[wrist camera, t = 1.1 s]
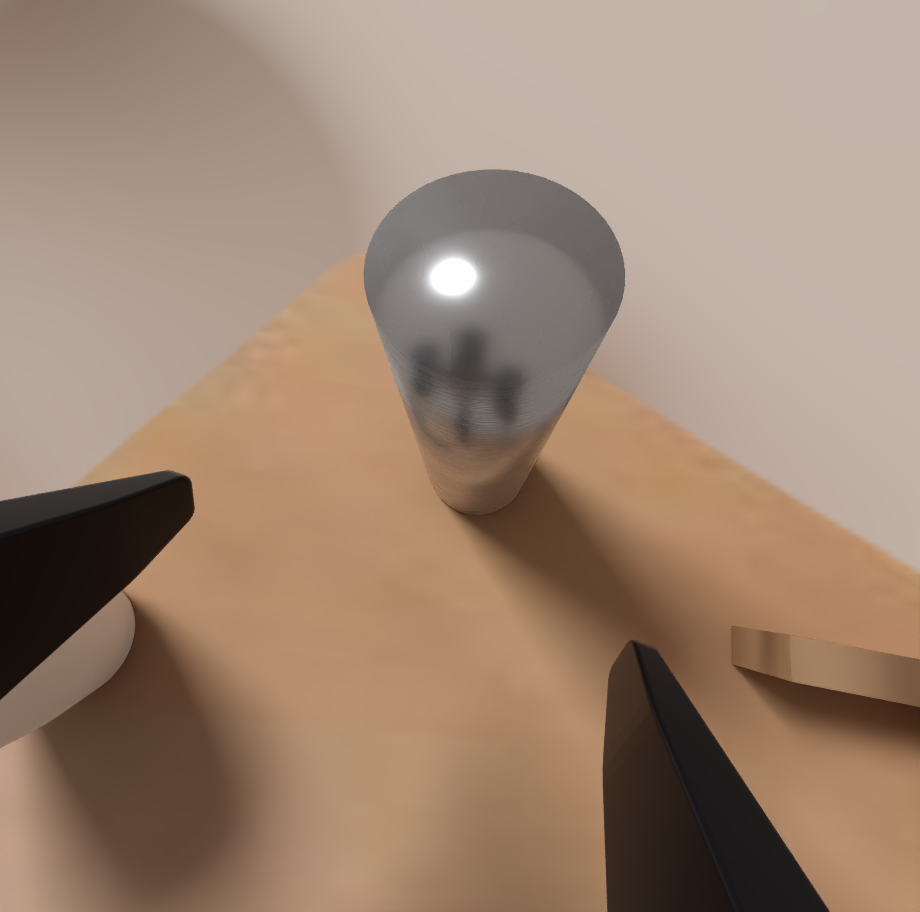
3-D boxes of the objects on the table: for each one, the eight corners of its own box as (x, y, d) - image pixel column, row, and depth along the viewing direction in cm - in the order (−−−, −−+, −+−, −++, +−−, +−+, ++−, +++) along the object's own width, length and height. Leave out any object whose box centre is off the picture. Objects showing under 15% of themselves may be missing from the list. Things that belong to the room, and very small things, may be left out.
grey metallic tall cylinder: (530, 511, 20) (649, 373, 7) (431, 518, 20) (362, 391, 7) (520, 419, 22) (601, 161, 9) (427, 425, 22) (364, 177, 9)
